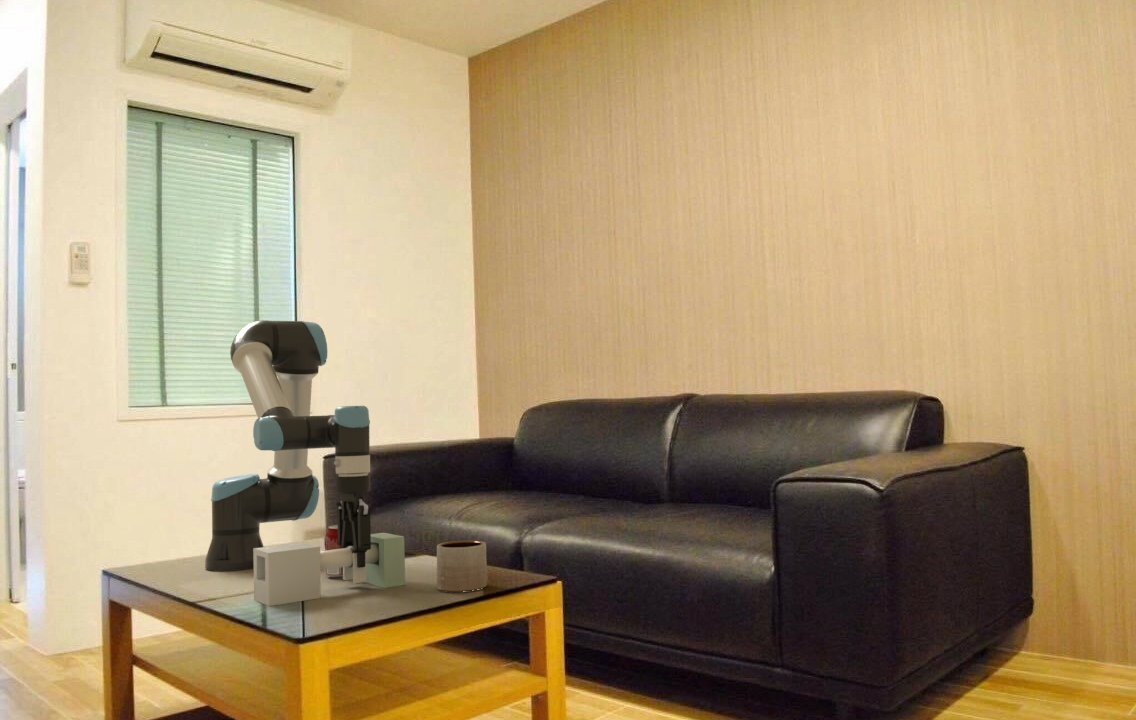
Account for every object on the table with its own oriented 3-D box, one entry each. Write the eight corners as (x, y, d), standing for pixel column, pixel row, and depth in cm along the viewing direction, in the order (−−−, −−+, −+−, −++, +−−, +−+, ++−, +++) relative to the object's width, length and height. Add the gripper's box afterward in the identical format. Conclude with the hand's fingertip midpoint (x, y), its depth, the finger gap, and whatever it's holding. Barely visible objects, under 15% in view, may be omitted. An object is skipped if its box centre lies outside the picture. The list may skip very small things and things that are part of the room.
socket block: (364, 582, 203) (364, 535, 204) (384, 579, 206) (383, 532, 207) (384, 588, 195) (383, 539, 196) (405, 584, 198) (404, 536, 199)
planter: (444, 595, 185) (443, 549, 186) (431, 586, 195) (430, 543, 196) (494, 590, 190) (493, 544, 190) (478, 581, 200) (477, 538, 200)
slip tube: (288, 574, 190) (288, 552, 190) (372, 562, 202) (372, 541, 202) (296, 576, 186) (296, 554, 186) (381, 564, 198) (381, 543, 198)
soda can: (338, 580, 206) (337, 528, 207) (320, 577, 210) (319, 526, 211) (361, 575, 212) (360, 525, 212) (343, 573, 216) (342, 523, 217)
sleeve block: (253, 599, 187) (253, 548, 188) (304, 591, 194) (303, 542, 194) (268, 606, 180) (268, 552, 181) (320, 597, 187) (320, 546, 187)
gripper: (321, 474, 202) (322, 577, 201) (353, 477, 188) (355, 588, 187) (352, 472, 207) (353, 573, 206) (386, 475, 193) (387, 583, 192)
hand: (354, 580), depth 196 cm, fingers closed on slip tube, 5 cm apart
